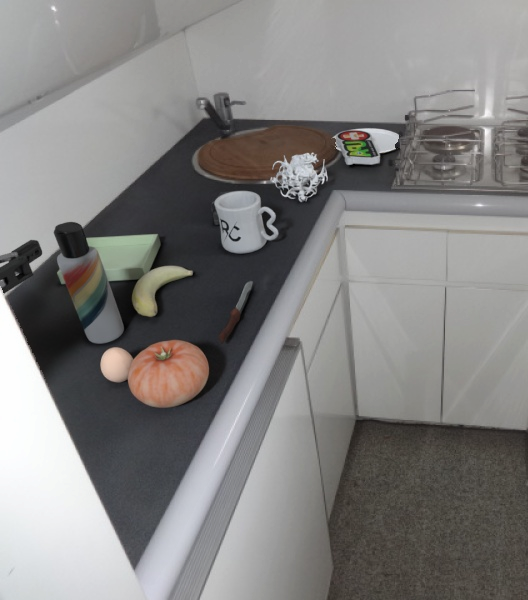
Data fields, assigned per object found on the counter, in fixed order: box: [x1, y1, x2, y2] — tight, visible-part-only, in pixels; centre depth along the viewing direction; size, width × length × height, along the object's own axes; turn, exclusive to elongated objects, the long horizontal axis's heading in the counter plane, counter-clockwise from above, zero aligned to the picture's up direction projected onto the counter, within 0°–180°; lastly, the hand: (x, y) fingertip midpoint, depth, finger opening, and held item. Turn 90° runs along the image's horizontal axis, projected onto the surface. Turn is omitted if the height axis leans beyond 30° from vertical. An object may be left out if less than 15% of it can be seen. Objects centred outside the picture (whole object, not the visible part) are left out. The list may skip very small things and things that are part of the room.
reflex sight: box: [210, 191, 230, 225], centre depth 130 cm, size 4×10×5 cm, turn 9°
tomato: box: [127, 339, 210, 409], centre depth 82 cm, size 11×11×8 cm
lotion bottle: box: [53, 221, 125, 345], centre depth 90 cm, size 6×6×20 cm
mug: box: [213, 190, 279, 255], centre depth 117 cm, size 12×9×10 cm
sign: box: [335, 129, 381, 166], centre depth 158 cm, size 22×2×10 cm
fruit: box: [131, 265, 194, 318], centre depth 104 cm, size 7×15×3 cm, turn 172°
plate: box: [332, 127, 400, 155], centre depth 167 cm, size 21×21×1 cm
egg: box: [100, 346, 134, 383], centre depth 85 cm, size 4×4×6 cm
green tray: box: [56, 233, 162, 285], centre depth 114 cm, size 15×13×2 cm
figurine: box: [270, 152, 329, 203], centre depth 137 cm, size 13×15×12 cm
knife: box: [218, 280, 254, 344], centre depth 99 cm, size 18×2×3 cm, turn 177°
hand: (9, 243), depth 76 cm, fingers open, 8 cm apart
